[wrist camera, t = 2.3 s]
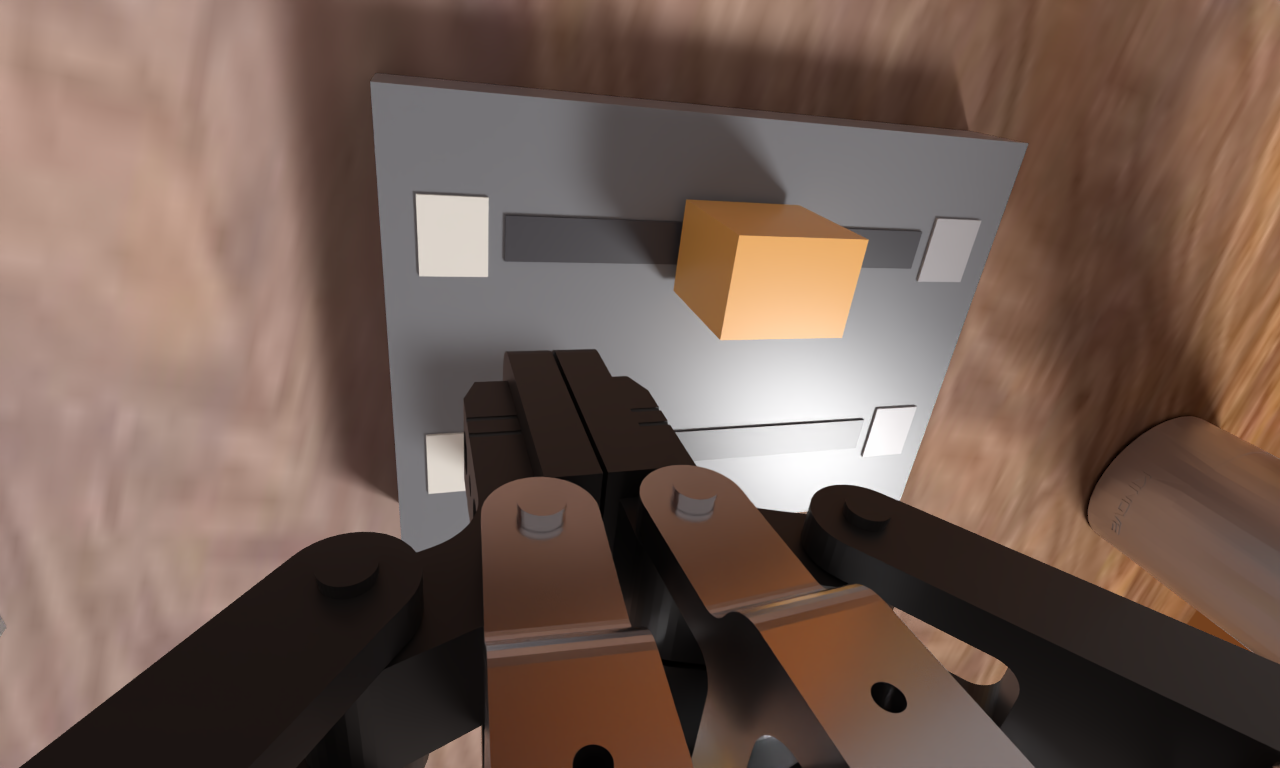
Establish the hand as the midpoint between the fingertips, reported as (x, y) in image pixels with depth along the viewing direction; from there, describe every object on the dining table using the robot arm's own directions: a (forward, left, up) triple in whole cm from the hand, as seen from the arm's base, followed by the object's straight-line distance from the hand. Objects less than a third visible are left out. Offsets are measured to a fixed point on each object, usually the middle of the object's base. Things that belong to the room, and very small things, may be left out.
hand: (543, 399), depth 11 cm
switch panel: (-8, +4, -13) cm, 16 cm away
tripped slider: (-8, 0, -10) cm, 13 cm away
